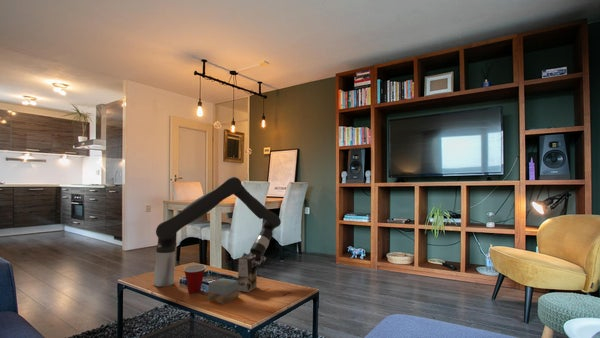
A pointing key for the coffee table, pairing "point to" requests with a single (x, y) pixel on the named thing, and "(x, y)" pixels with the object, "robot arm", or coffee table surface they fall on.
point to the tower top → (223, 286)
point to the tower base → (223, 297)
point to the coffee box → (246, 274)
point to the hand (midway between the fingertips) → (246, 272)
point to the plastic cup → (194, 277)
